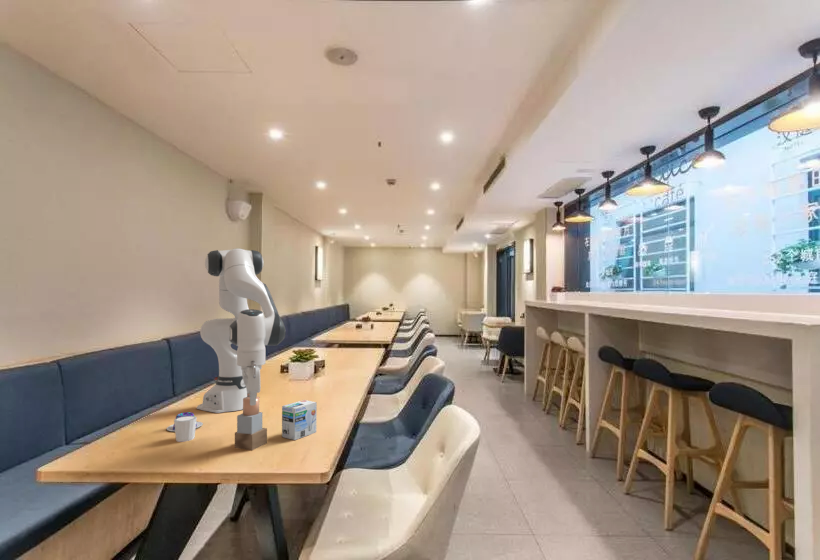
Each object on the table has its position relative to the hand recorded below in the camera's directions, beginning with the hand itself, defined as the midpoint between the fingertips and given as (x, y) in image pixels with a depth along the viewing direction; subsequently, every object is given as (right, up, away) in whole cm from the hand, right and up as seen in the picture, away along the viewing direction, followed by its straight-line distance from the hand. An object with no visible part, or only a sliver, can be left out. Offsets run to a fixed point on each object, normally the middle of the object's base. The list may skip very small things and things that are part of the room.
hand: (251, 401), depth 141 cm
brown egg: (0, -4, -1) cm, 4 cm away
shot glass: (-25, -15, +6) cm, 30 cm away
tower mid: (0, -9, -1) cm, 9 cm away
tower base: (0, -14, -1) cm, 14 cm away
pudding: (-32, -16, +19) cm, 40 cm away
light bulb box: (+13, -15, +10) cm, 22 cm away
